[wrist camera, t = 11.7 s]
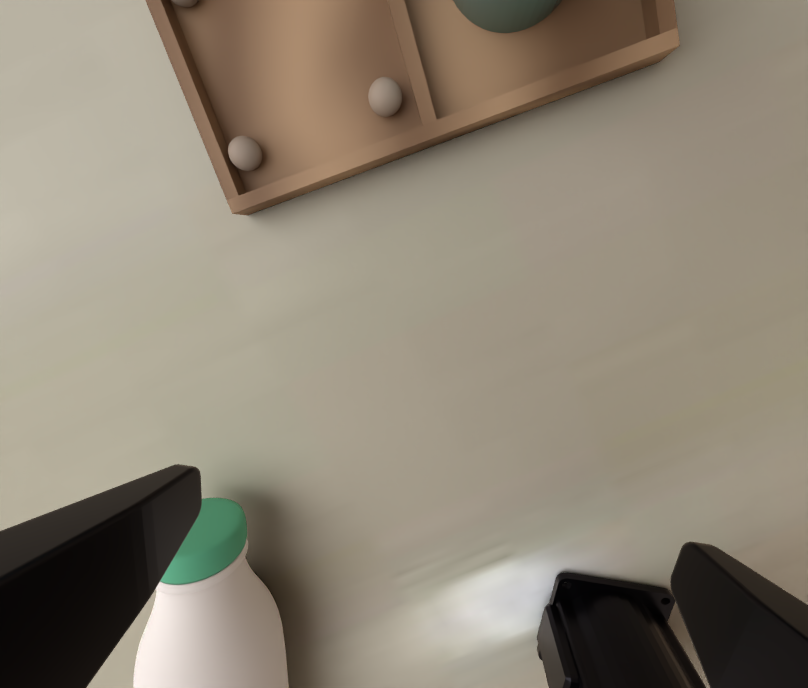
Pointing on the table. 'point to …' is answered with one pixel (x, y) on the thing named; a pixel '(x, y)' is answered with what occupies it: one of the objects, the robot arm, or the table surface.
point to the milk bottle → (213, 613)
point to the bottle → (506, 13)
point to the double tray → (378, 78)
